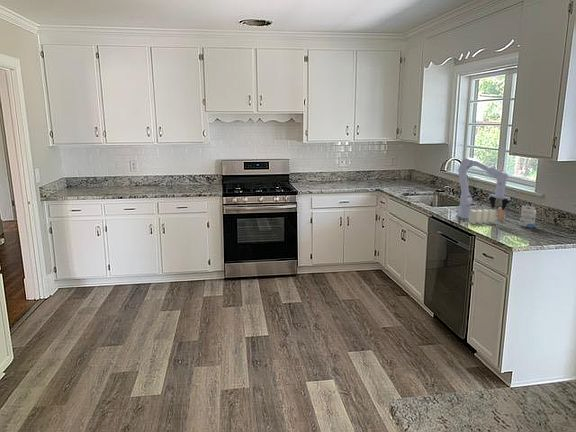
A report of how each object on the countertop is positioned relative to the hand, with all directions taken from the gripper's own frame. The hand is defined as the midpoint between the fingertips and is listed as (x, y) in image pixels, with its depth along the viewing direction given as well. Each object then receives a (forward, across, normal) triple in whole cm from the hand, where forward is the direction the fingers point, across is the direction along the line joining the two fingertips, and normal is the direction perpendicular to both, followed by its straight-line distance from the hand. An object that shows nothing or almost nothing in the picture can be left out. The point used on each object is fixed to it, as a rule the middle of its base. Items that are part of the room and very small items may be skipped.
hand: (497, 208), depth 298 cm
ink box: (+10, +17, +8) cm, 22 cm away
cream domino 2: (+10, -5, -12) cm, 17 cm away
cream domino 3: (+10, -3, -8) cm, 13 cm away
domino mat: (+10, -4, -5) cm, 12 cm away
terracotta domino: (+10, -2, +8) cm, 13 cm away
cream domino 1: (+10, -7, -17) cm, 21 cm away
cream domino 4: (+10, -1, -3) cm, 10 cm away
